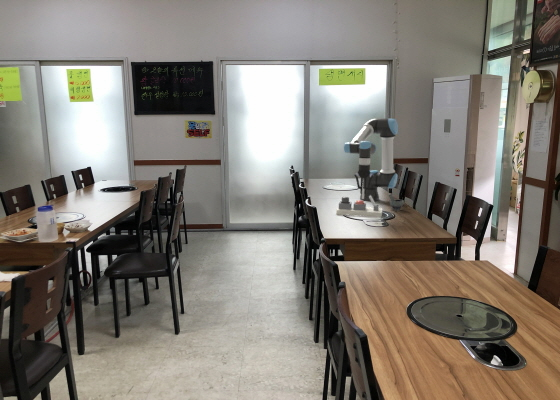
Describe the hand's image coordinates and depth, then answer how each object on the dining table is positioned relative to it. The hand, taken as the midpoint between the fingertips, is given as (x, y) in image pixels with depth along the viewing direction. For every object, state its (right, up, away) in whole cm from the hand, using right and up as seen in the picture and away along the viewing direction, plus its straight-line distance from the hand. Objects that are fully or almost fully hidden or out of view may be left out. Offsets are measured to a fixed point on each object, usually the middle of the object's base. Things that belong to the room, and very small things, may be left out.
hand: (362, 198), depth 310 cm
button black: (-12, -4, +4) cm, 13 cm away
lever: (+9, -6, -1) cm, 11 cm away
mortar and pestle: (+26, -8, +15) cm, 31 cm away
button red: (-2, -7, +2) cm, 7 cm away
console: (-2, -10, +2) cm, 11 cm away
